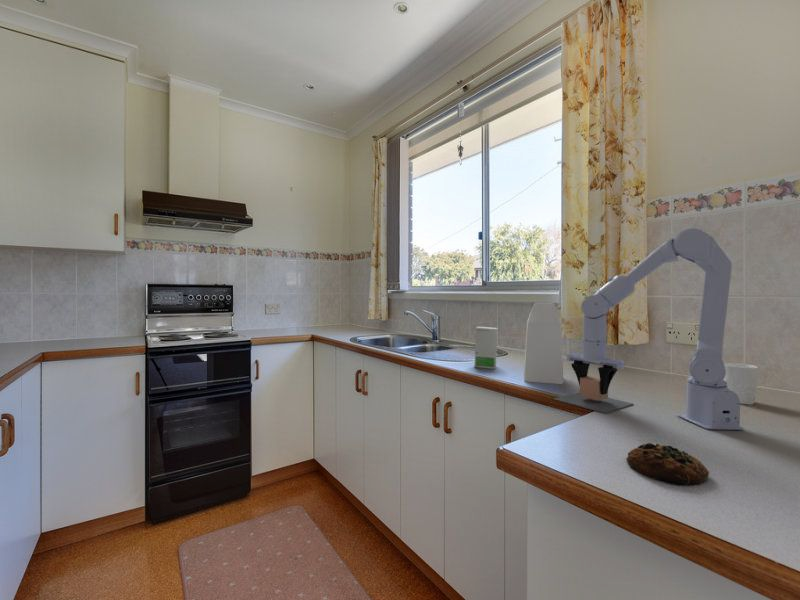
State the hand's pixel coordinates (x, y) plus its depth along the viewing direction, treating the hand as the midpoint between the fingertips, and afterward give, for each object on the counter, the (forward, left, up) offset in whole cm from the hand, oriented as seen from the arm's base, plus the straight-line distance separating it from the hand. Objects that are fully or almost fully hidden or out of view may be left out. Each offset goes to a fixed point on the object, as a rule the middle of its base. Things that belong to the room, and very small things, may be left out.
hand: (593, 391), depth 102 cm
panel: (0, 0, -3) cm, 3 cm away
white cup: (+4, -41, -3) cm, 42 cm away
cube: (0, 0, -2) cm, 2 cm away
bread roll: (-39, +8, -3) cm, 40 cm away
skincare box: (+48, +19, -3) cm, 51 cm away
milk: (+28, +4, -3) cm, 28 cm away
